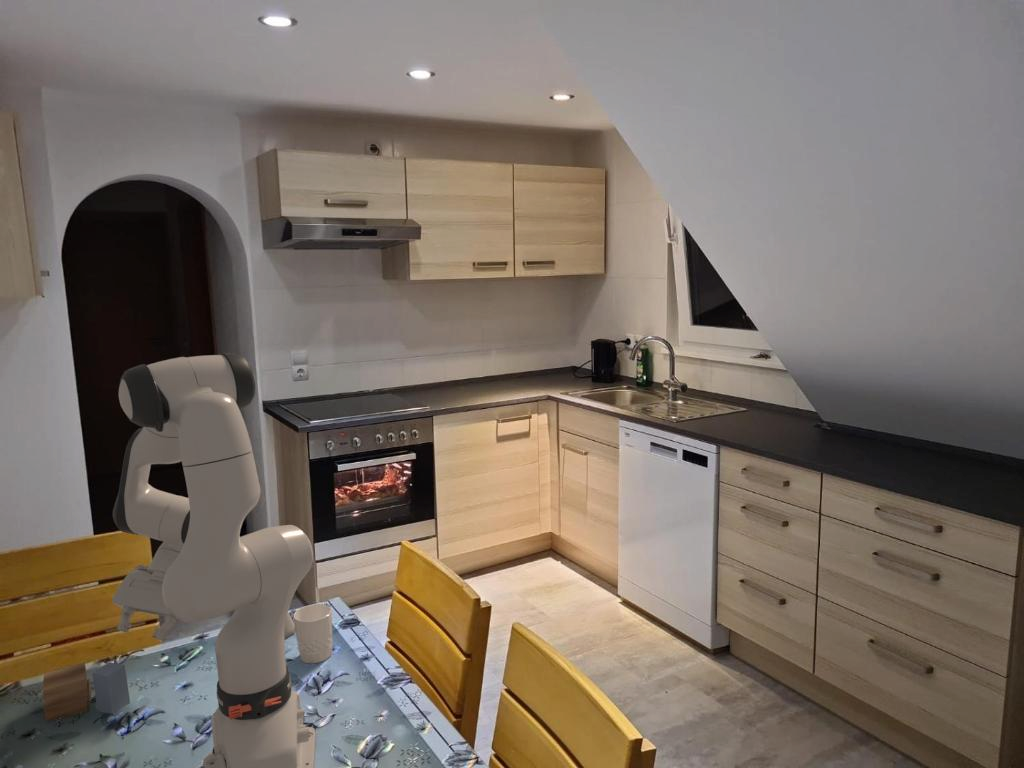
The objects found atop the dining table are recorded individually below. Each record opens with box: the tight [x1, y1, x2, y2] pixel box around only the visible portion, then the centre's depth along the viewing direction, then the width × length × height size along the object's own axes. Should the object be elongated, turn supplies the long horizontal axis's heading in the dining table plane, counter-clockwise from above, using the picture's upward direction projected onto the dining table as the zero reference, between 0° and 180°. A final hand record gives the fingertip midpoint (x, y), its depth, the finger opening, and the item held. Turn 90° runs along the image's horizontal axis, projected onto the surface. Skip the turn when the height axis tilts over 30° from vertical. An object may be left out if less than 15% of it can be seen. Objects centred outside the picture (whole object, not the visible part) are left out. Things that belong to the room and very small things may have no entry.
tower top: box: [42, 662, 88, 708], centre depth 146 cm, size 7×7×4 cm
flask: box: [284, 612, 296, 640], centre depth 172 cm, size 7×7×10 cm
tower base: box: [43, 678, 93, 723], centre depth 147 cm, size 7×7×4 cm
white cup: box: [293, 603, 333, 664], centre depth 162 cm, size 8×8×10 cm
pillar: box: [91, 661, 131, 715], centre depth 146 cm, size 4×4×8 cm
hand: (139, 634), depth 152 cm, fingers open, 8 cm apart
